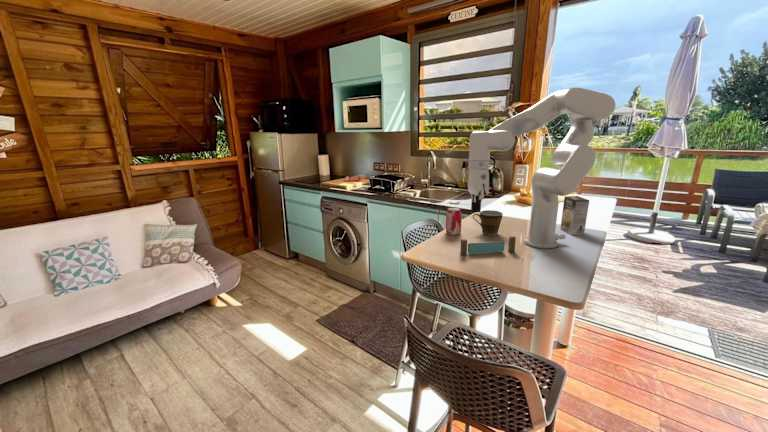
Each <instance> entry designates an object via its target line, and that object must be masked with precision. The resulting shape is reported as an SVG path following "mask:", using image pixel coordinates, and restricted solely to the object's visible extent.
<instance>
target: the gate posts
mask: <svg viewBox="0 0 768 432" xmlns="http://www.w3.org/2000/svg"><path fill="white" fill-rule="evenodd" d="M516 239H517V237H516V236H514V235H509V236H508V247H507V249H508V250H507V252H508V253H512V254H513V253H515V252H516V251H515V250H516ZM459 254H460V255H461V256H463V257H466V256H467V255H468V239H466V238H462V239H460V253H459Z"/></svg>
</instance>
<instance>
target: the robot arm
mask: <svg viewBox="0 0 768 432" xmlns="http://www.w3.org/2000/svg"><path fill="white" fill-rule="evenodd" d="M615 109H616V101H615V99H614V98H613V97H612V96H611V95H610V94H607V93H604V92H600V91H596V90H595V91H594V90H592V89H587V88H583V87H570V88H564V89H560V90H556V91H554V92H552V93H551V94H549V95H548V96H546V97H544V98H543V99H541V100H539V101H538V102H537V103H535V104H534V105H532V106H531V107H528V108H527V109H525V110H523V111H522V112H519V113H517V114H516V115H514V116H512V117H510V118H507V119H506V120H504V121H502V122H501V123H499V124H497V125H496V126H494V127H493V128H491V129H489V130H487V131H486V130H479V131H478V130H477V131H472V132H471V133H470V135H469V148H468V149H469V151H468V152H469V153H468V167H467V169H469V170H468V171H469V172H468V179H467V191H468V193H469V195H470V196H471V198H470V199H471V206H470V211H471V212H472V213H480V212H481V211H482V210H481V208H482V201H483V200H485V196H488V195H489V193H490V192H489V191H490V172H489V169H490V161H491V160H490V159H491V151H496V152H506V151H509V150H510V149H512V148H513V147H514V145H515V143H516V137H517V136H520V135H524V134H528V133H532V132H535V131H537V130H539V129H541V128H543V127H544V126H546V125H547V124H549V123H550V122H552V121H553V120H555V119H557V118H558V117H560V116H562V115H564V114H568V118H569V122H570V125H569V126H570V127H569V130H568V131H567V134H566V135H565V137H564V138H563V140H562V141H561V142H560V143H559V145H558V146H557V148H556V149H555V150H554V152H553V153H552V154H551V158H550V161H551V164H552V165H553V166H554V167H555V168H554V167H541V168H538V169H537V170H536V171H534V173H533V175H532V178H531V189H532V190H531V191H532V196H531V199H532V200H531V210H530V219H529V229H528V230H529V231H528V236H527V237H525V238H524V239H523V242H524V244H526V245H527V246H530V247H533V248H537V249H543V250H544V249H549V250H550V249H555V248H557V247H558V246H559V242H558V241H559V240H565V239H566V235H565V234H559V233H556V226H557V219H558V218H557V217H558V211H559V210H558V209H559V197H560V196H562V197H566V196H569V195H570V194H572V193H573V192H574V191H575V190H576V189H577V187H578V186H580V184H581V183H582V182H583V180H584V179H585V177H586V176H587V175H588V174H589V172H590V171H591V169H593V167H594V165H595V163H596V158H597V155H596V151H595V149H594V148H593V147H592V146H590V145H589V144H590V143H591V141H592V139H593V137H594V127H593V121H599V120H600V121H601V120H605V119H607V118H609V117H610V116H611V115H612V114H613V113H614V112H615Z"/></svg>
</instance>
